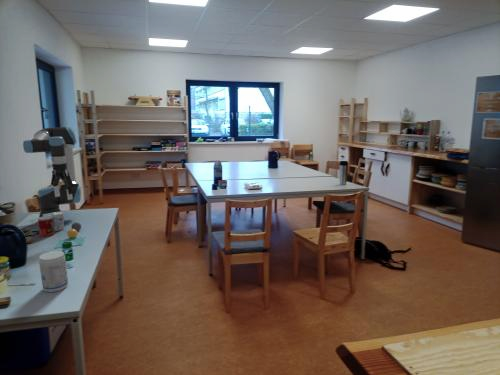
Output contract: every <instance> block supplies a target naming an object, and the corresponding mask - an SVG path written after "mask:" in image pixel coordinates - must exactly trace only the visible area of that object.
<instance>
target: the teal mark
mask: <svg viewBox="0 0 500 375" xmlns="http://www.w3.org/2000/svg"><path fill="white" fill-rule="evenodd" d="M84 239H86V236H83V237H75V238H63V239H62V238H61V239H58V241H57V243H56V244H55V245H54V249H62V248H61V243H62V242H66V241H73V242H75V243H76V245H77V244H81V245H80V246H83V244H84V241H85V240H84ZM75 243H74V244H75ZM72 247H75V246H74V245H73V246H72Z"/></svg>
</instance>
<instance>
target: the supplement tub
mask: <svg viewBox="0 0 500 375" xmlns="http://www.w3.org/2000/svg"><path fill="white" fill-rule="evenodd" d="M38 261H39V262H38V264H39V270H40V276H41V278H40V279H41V284H42V285H41V286H42V289H43V291H45V292H46V293H47V292H48V293H55V292H59V291H62V290H65V288H67V287H68V285H69V278H68V270H67V269H68V268H67V262H66V255H65V252H63V251H61V250H53V251H49V252H45V253H42V254H40V255H39V258H38Z"/></svg>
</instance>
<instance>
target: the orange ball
mask: <svg viewBox="0 0 500 375" xmlns="http://www.w3.org/2000/svg"><path fill="white" fill-rule="evenodd" d="M66 234H67V237H68V239H70V238H77V236H78V231H76V230H75V229H72V228H71V229H69V230H68V231H67V233H66Z"/></svg>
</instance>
